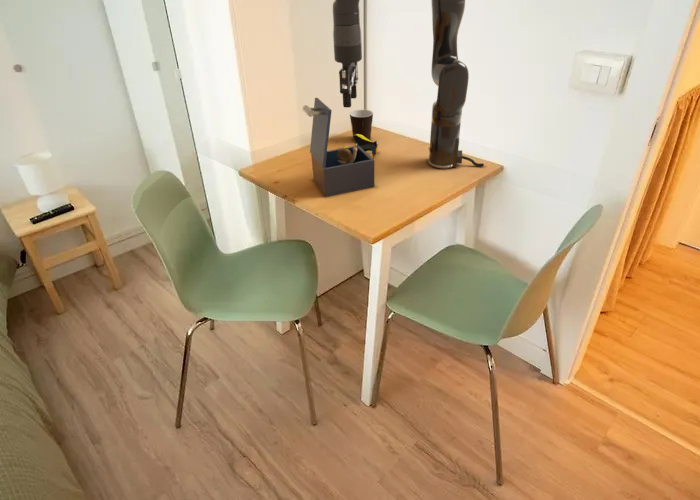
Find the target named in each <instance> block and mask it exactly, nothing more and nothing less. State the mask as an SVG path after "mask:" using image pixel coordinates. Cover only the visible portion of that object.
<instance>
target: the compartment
mask: <svg viewBox="0 0 700 500" xmlns="http://www.w3.org/2000/svg"><path fill="white" fill-rule="evenodd" d="M354 147H357V153H356V158H355V160H354V162H353V163H350V164H345V165H341V164H340V163H339V162H338V160H340V159H339V158H338V151H339V150H340V149H342V148H343V147H342V148H337V149H330V150H327V156H326V165H325V168H322V167H321V165H320V164H319V163H318V162H317V160H316V159H315V158H314V157H313V155H312V154H311V153H310V155H311V157H310V158H311V167H312V180H313V181H314V183H315V184H316V186H317V187H318V188H319V190H320V191H321V192H322V194H323V195H324V196H325V198H327V197H332V196H338V195H343V194H346V193H352V192H357V191H362V190H366V189H371V188H375V159H374V157H373V158H372V157H371V156H369V155H368V154H367V153H366V152H365V151H364V150H363V149H362V148H361V147H360V146H359V145H358V146H355V145H353V146H348V147H347V148H346V149H348V150H350V151H351V153H352V154H353V148H354Z"/></svg>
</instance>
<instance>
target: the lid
mask: <svg viewBox="0 0 700 500" xmlns="http://www.w3.org/2000/svg"><path fill="white" fill-rule="evenodd" d="M313 106H314V107H310V106H308V105H305V104H304V105H303V106H302V111H303V112H304V113H305V115H307V116H308V117H310V118H312V126H311V137H310V146H309V148H310V149H309V153H310V155H311V154H312V155H313V157H314V158H315V159H316V160H317V162H318V163H319V164H320V165H321V167H322V168H325V165H326V156H327V151H328V147H329V136H330V128H331V120H332V119H331V118H332V112H333V110H332V109H331V107H329V106H328V105H326V104H325V103H324V102H323V101H322V100H320V98H319V97H314V104H313Z"/></svg>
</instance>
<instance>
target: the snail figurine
mask: <svg viewBox="0 0 700 500" xmlns="http://www.w3.org/2000/svg"><path fill="white" fill-rule="evenodd" d="M354 144H355V143H354ZM354 146H357V143H356V144H355V145H354ZM339 149H340V150H339V151H338V158H339V159H340V160H338V162H339V163H340V164H341V165H345V164H350V163H353V162H354V160H355V158H356V153H357V147H354V148H353V154H352V153H351V151H350V150H348V149H346V148H343V147H342V149H341V148H339Z"/></svg>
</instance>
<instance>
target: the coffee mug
mask: <svg viewBox="0 0 700 500" xmlns="http://www.w3.org/2000/svg"><path fill="white" fill-rule="evenodd" d="M373 118H374V112H373V111H372V110H369V109H356V110H352V111H350V112H349V119H350V126H351V133H352V137H353V136H354V135H356V134H360V135H363V136H364V137H365V138H367V139H368V140H370V141H371V136H372V127H373V120H374V119H373Z"/></svg>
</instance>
